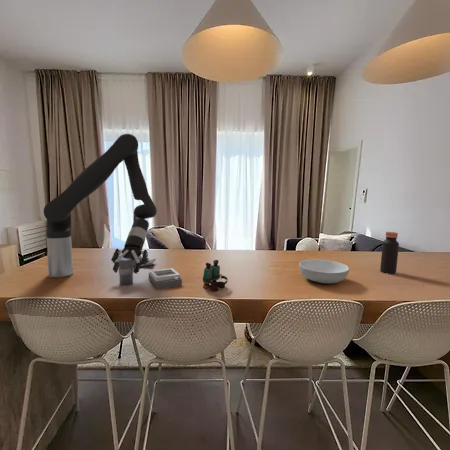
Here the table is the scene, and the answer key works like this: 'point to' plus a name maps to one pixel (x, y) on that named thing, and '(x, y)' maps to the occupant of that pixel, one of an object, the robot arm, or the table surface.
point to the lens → (126, 271)
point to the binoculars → (213, 277)
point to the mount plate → (165, 278)
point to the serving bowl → (323, 270)
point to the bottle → (389, 253)
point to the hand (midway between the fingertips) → (125, 272)
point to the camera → (141, 260)
